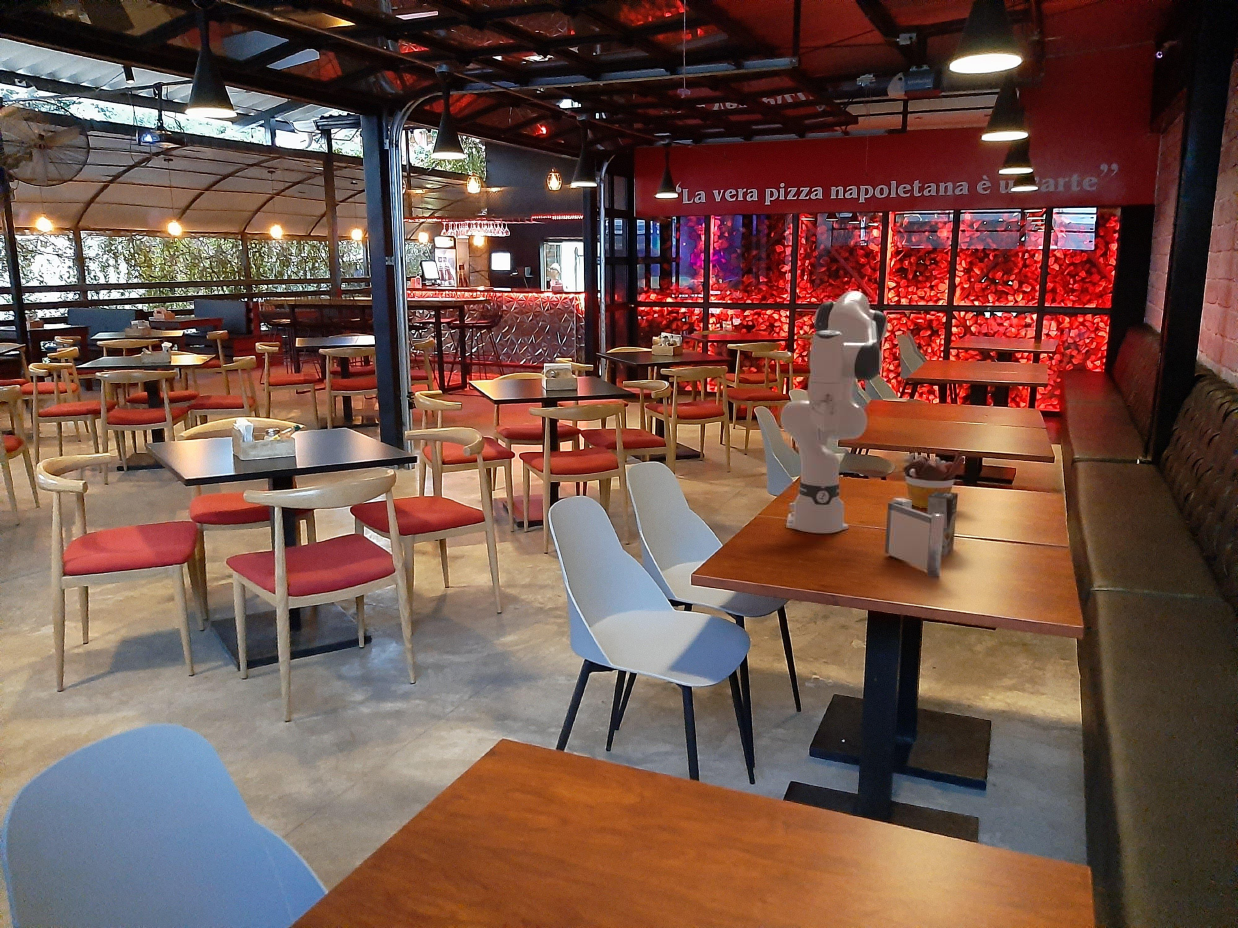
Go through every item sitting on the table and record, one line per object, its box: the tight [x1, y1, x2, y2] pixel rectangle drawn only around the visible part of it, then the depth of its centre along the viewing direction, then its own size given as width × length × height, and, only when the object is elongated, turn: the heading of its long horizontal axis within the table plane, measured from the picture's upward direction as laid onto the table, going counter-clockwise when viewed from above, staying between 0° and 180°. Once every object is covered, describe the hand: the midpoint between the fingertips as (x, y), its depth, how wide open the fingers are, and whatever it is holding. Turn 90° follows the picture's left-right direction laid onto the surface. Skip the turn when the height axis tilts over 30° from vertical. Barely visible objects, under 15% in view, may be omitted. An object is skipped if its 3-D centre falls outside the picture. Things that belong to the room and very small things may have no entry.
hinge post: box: [926, 513, 944, 578], centre depth 229 cm, size 3×3×16 cm
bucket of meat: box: [902, 450, 966, 510], centre depth 304 cm, size 20×16×20 cm
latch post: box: [888, 497, 913, 560], centre depth 245 cm, size 4×3×16 cm
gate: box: [884, 501, 932, 571], centre depth 238 cm, size 17×2×14 cm, turn 21°
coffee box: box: [926, 491, 959, 556], centre depth 252 cm, size 9×6×16 cm
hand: (822, 444), depth 240 cm, fingers closed
